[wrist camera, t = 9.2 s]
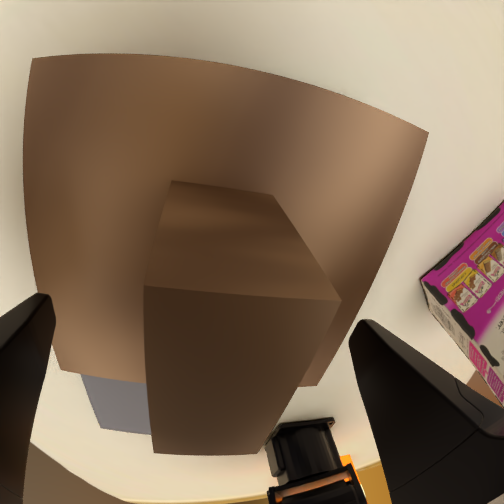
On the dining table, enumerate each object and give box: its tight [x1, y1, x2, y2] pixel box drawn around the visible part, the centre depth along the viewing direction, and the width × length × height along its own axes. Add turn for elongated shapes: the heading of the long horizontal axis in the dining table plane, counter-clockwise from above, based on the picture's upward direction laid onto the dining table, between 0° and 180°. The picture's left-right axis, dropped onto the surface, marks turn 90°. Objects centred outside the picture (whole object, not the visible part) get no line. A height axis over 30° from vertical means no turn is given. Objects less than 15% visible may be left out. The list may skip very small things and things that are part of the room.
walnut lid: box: [23, 54, 429, 456], centre depth 8 cm, size 13×13×6 cm
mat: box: [81, 374, 151, 435], centre depth 21 cm, size 16×16×1 cm
